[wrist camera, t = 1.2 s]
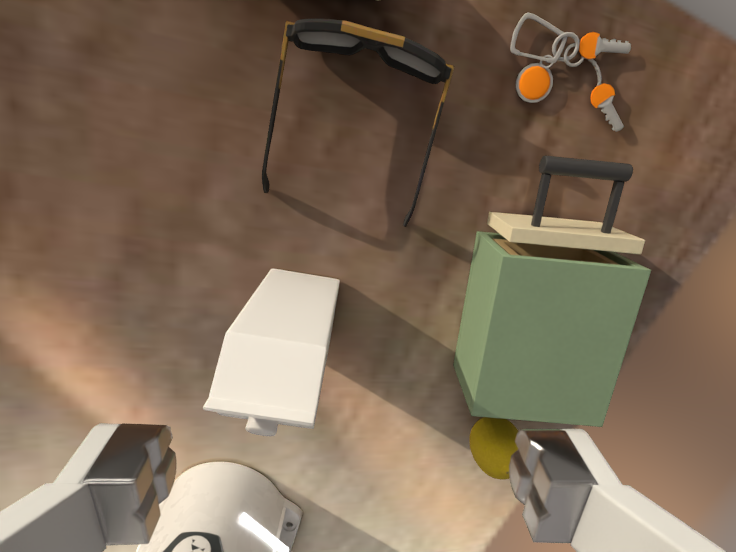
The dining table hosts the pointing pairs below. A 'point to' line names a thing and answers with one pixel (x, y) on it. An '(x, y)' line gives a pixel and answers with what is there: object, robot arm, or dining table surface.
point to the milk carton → (276, 353)
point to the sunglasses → (350, 41)
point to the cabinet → (545, 334)
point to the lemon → (493, 445)
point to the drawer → (566, 234)
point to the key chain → (539, 79)
